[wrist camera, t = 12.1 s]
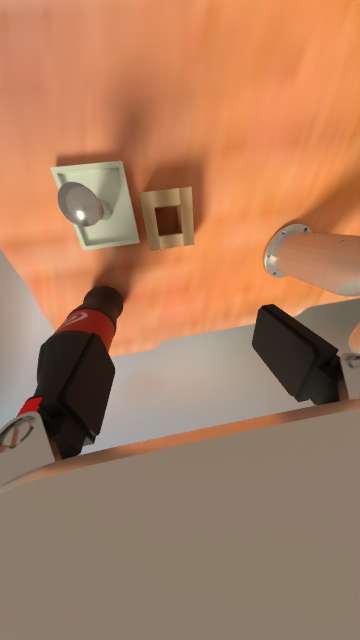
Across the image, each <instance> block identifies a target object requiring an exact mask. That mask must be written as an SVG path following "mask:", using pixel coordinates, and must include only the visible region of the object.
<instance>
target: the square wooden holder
mask: <svg viewBox="0 0 360 640" xmlns="http://www.w3.org/2000/svg"><path fill="white" fill-rule="evenodd" d="M139 198H140V203H141V208H142V213H143V218H144V224H145V229H146V234H147V239H148V244H149V249H150V251H152V250H159V249H166V248H173V247H181V246H188V245H195V244H194V224H193V204H192V187H184V188H175V189H166V190H157V191H148V192H139ZM174 206H176V208H177V218H178V229H179V232H175V233H168V234H160V235H159V234H158V228H157V221H156V215H155V209H158V208H166V207H174Z"/></svg>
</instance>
